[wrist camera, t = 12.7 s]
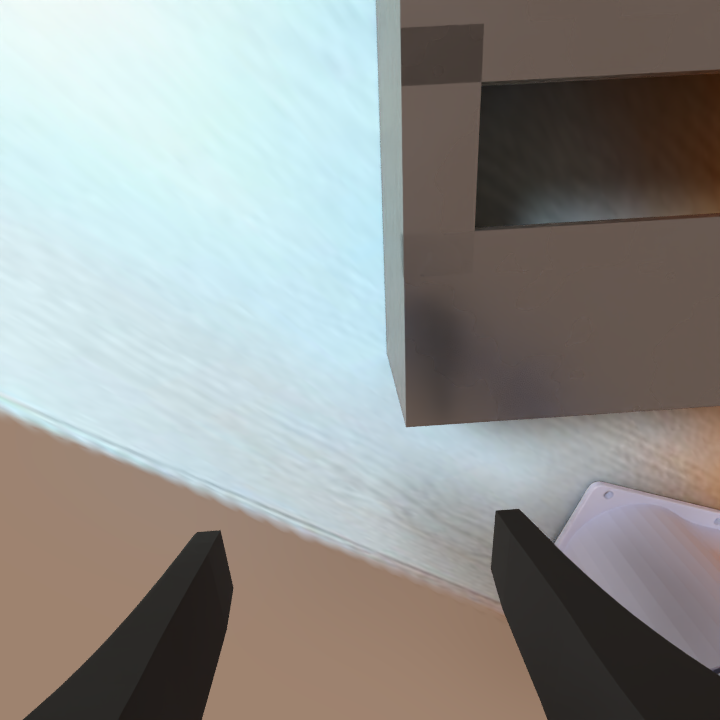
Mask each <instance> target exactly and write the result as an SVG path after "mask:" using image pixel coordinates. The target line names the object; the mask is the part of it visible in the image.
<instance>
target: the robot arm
mask: <svg viewBox="0 0 720 720" xmlns="http://www.w3.org/2000/svg"><path fill="white" fill-rule="evenodd" d="M608 491H609V492H608ZM606 492H608V493H606ZM605 493H606V494H605ZM491 570H492V574H493V578H494V581H495V585H496V588H497V592H498V595H499V598H500V602H501V605H502V608H503V611H504V613H505V616H506V618H507V621H508V623H509V626H510V628H511V630H512V633H513V636H514V638H515V640H516V643H517V645H518V647H519V650H520V653H521V655H522V657H523V659H524V662H525V664H526V667H527V669H528V672H529V674H530V677H531V679H532V681H533V684H534V686H535V689H536V691H537V693H538V696H539V698H540V701H541V703H542V706H543V709H544V711H545V714H546V717H547V719H548V720H720V510H716V509H712V508H708V507H704V506H700V505H696V504H692V503H688V502H683V501H679V500H675V499H671V498H667V497H663V496H659V495H655V494H651V493H646V492H642V491H638V490H634V489H630V488H626V487H622V486H618V485H614V484H609V483H605V482H601V481H597V482H594V483H592V484H591V485H590V486H589V487H588V489H587V490H586V492H585V494H584V495H583V497H582V499H581V500H580V502H579V504H578V505H577V507H576V509H575V510H574V512H573V514H572V515H571V517H570V519H569V520H568V522H567V524H566V525H565V527H564V528H563V530H562V532H561V533H560V535H559V537H558V538H557V540H556V542H555V543H553V542H552V541H550V540H549V539H548V538H547V537H546V536H545V535H544V534H543V533H542V532H541V531H540V530H539V528H538V527H537V526H536V525H535V524H534V523H533V522H532V521H531V520H530V519H529V518H528V517H527V516H526V515H525V514H524V513H523V512H522V511H520V510H519V509H512V510H498V511H496V514H495V526H494V538H493V550H492V562H491ZM232 593H233V584H232V580H231V575H230V571H229V566H228V562H227V557H226V553H225V548H224V544H223V540H222V535H221V531H207V532H197V533H196V534H195V535H194V536H193V537H192V538H191V540H190V541H189V542H188V544H187V545H186V546H185V547H184V549H183V550H182V551H181V553H180V554H179V555H178V556H177V558H176V559H175V560H174V562H173V563H172V564H171V565H170V567H169V568H168V569H167V570H166V572H165V573H164V574H163V576H162V577H161V578H160V579H159V580H158V581H157V583H156V584H155V585H154V586H153V587H152V589H151V590H150V591H149V592H148V594H147V595H146V596H145V597H144V599H143V600H142V601H141V602H140V603H139V604H138V605H137V607H136V608H135V609H134V610H133V611H132V612H131V614H130V615H129V616H128V617H127V618H126V619H125V620H124V621H123V623H121V625H120V626H119V627H118V628H117V629H116V630H115V631H114V632H113V634H112V635H111V636H110V637H109V638H108V639H107V640H106V641H105V642H104V643H103V644H102V645H101V646H100V648H99V649H98V650H97V651H96V652H95V653H94V654H93V655H92V656H91V657H90V658H89V659H88V660H87V661H86V662H85V663H84V664H83V665H82V666H81V667H80V668H79V669H78V670H77V671H76V672H75V673H74V674H73V675H72V676H71V677H70V678H69V679H68V680H67V681H65V683H63V685H61V686H60V687H59V688H58V689H57V690H56V691H55V692H54V693H53V694H51V696H49V697H48V698H47V699H46V700H45V701H44V702H42V703H41V704H40V705H39V706H38V707H37V708H36V709H35V710H34V711H32V712H31V713H30V714H29V715H28V716H27V717H25V718H24V719H23V720H202V717H203V713H204V709H205V706H206V702H207V699H208V695H209V692H210V688H211V684H212V681H213V677H214V673H215V670H216V667H217V663H218V659H219V655H220V651H221V648H222V645H223V641H224V637H225V633H226V630H227V624H228V618H229V612H230V605H231V599H232Z"/></svg>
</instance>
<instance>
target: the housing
mask: <svg viewBox="0 0 720 720" xmlns="http://www.w3.org/2000/svg"><path fill="white" fill-rule="evenodd" d="M376 19H377V51H378V84H379V116H380V148H381V180H382V212H383V245H384V277H385V309H386V341H387V356H388V360H389V363H390V367H391V371H392V375H393V379H394V383H395V387H396V390H397V394H398V398H399V402H400V406H401V410H402V413H403V417H404V421H405V425H406V427H415V426H430V425H445V424H459V423H474V422H489V421H504V420H518V419H533V418H548V417H562V416H577V415H592V414H607V413H621V412H636V411H651V410H665V409H680V408H695V407H709V406H720V213H714V214H697V215H680V216H663V217H647V218H630V219H613V220H596V221H579V222H562V223H546V224H529V225H512V226H495V227H478V228H475V213H476V191H477V169H478V147H479V125H480V103H481V86H493V85H512V84H531V83H549V82H568V81H587V80H606V79H625V78H643V77H662V76H681V75H700V74H719V73H720V0H376Z"/></svg>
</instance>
